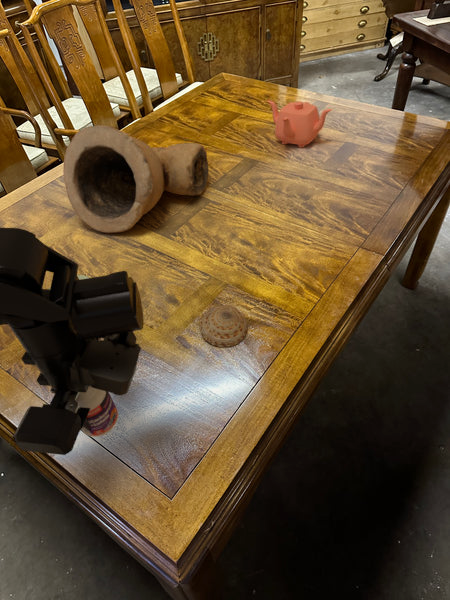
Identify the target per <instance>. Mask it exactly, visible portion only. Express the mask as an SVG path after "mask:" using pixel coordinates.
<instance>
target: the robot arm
mask: <svg viewBox="0 0 450 600" xmlns="http://www.w3.org/2000/svg"><path fill="white" fill-rule="evenodd" d="M47 272H49V273H53V274H52V277H51V278H52V279H51V284H50V287H51V288H50V287H49V288H50V289H49V288H44V287H43V286H44V282H45V278H46V273H47ZM78 272H79V264H78V263H77V262H76V261H74V260H72V259H70V258H68V257H67V256H65V255H64V254H62V253H60V252H58V251H56V250H55V249H54V248H51V247H50V246H48V245H46V244H45V243H44V242H43V241H41V240H40V239H39V238H38V237H37V235H36V234H35V233H34V232H31V231H29V230H27V229H23V228H19V227H0V326H4V325H7V326H8V327H9V328H10V330H11V331H12V333H13V334H14V336H15V337H16V338H17V340H18V341H19V343H20V345H21V346H22V347H23V349H24V350H25V351H24V353H23V355H22V356H21V361H22V362H23V364H24V365H28V366H36V368H37V370H38V371H39V372H40V373H39V375H38V376H37V378H36V382H37V383H38V385H39V386H43V387H44V386H46V387H50V389H49V390H50V391H49V392H51V394H54V395H53V397H52V399H51V401H50V403H49V404H48V403H43V404H42V406H35V405H31V406H29V407H28V408H27V409H26V411H25V412H24V414H23V416H22V419H20V422H19V424H18V426H17V428H16V430H15V432H14V434H13V435H12V439H13V442H14V444H15V445H16V446H17V447H18V448H19V450H21V451H23V452H32V453H42V454H50V455H51V454H52V455H61V456H66V455H68V454H70V453H71V452H72V451H73V449H74V446H75V445H76V442H77V439H78V436H79V434H80V431H81V432H82V431H90V430H91V427H90V424H89V422H88V420H87V416H88V413H89V411H90V408H84V407H79V404H78V403H77V402H76V399H77V397H78V395H79V392H85V393H86V392H87V389H88V387H89V386H91V387H92V388H95V389H99V390H103V391H107V392H109V394H110V393H111V394H113V395H116V396H125V395H127V393H128V392H129V391H130V388H131V384H132V382H133V379H134V376H135V373H136V370H137V366H138V361H139V356H140V353H141V350H142V347H141V346H140V344H138V343H137V340H138V339H137V336H136V335H135V333H134V332H138V331H142V330H143V329H144V311H143V310H144V309H143V304H142V298H141V294H140V290H139V286H138V283H137V281H135V280H134V278H133V277H132V276H129V273H128V271H126V270H120V271H115V272H112V273H111V272H110V273H109V274H106V275H100V276H94V277H93V276H92V277H90V278H87V279H81V280H79V278H78V276H77V275H78Z"/></svg>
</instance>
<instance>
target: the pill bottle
mask: <svg viewBox="0 0 450 600" xmlns="http://www.w3.org/2000/svg"><path fill="white" fill-rule="evenodd" d="M76 402H77V403H78V404H79V407H84V408H90V411H89V413H88V416H87V420H88V422H89V424H90V427H91V430H90V431H81V432H82V433H83V434H85V436H88V437H92V438H97V437H98V438H99V437H103V436H105V435H106V434H108V433H110V432H111V431H112V430H113V429H114V428H115V426H116V425H117V423H118V419H119V411H118V408H117V406H116V404H115V402H114V399H113V398H112V396H111V394H110V392H107V391H103V390H99V389H95V388H92V387H91V386H89V387H88V389H87V392H86V393H85V392H79V395H78V397H77V399H76Z"/></svg>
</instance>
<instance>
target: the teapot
mask: <svg viewBox="0 0 450 600" xmlns="http://www.w3.org/2000/svg"><path fill="white" fill-rule="evenodd" d="M267 103H268V104H269V105H270V107H271V109H272V110H271V111H272V121H273V123H274V125H275V130H274V134H275V137H276V139H277V140H278V141H279V142H281V144H282V145H288V144H292V145H297V147H298V148H304V147H306V145H309V144H310V143H311V142H313V141H314V140H315V139H316V138H317V136H318V135H319V133H320V131H322V129H323V128H324V125H325V122H326V117H327V115H328V114H329V113H330V112H331V111H333V108H327V109H324V110H322V112H321V113H319V109H318V107H317V105H315V104H311V103H310V102H308V101H304V102H303V101H301V100H298V101H295V102H294V101H293V102H292V101H291V102H289V103H287V104H286V105H285V106H283V107H282V108H281V109H280V111H279V109H278V105H277V104H276V103H275V101H273V100H267Z"/></svg>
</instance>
